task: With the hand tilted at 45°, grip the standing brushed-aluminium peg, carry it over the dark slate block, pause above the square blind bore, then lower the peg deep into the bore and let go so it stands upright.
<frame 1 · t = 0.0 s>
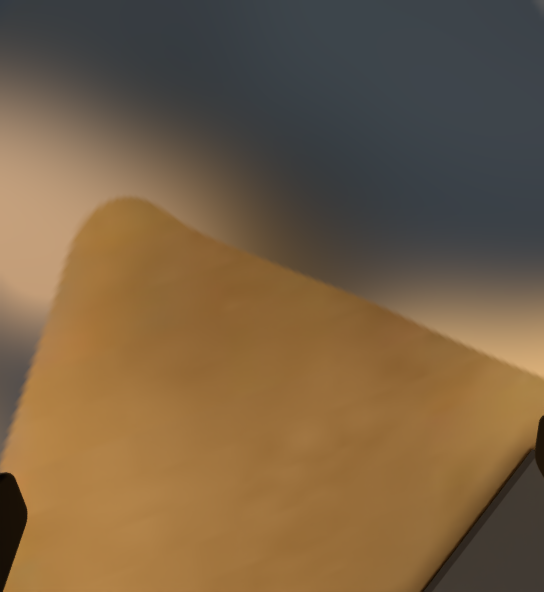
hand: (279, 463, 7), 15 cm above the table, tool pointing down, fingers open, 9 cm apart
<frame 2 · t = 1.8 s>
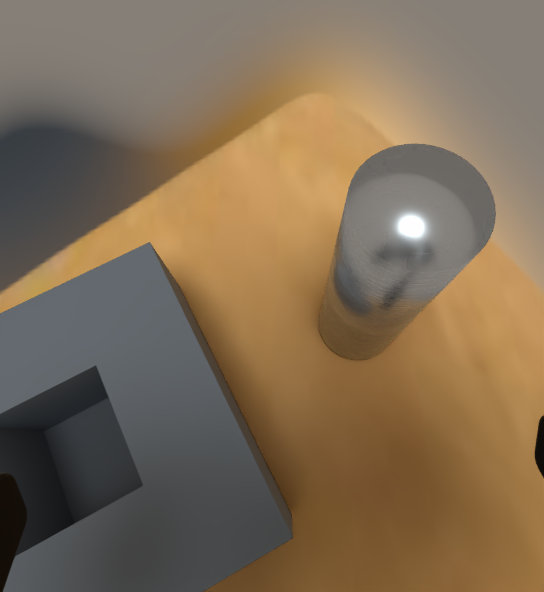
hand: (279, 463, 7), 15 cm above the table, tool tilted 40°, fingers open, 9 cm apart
slate socket block: (112, 453, 21), on the table
aluminium peg: (356, 322, 23), on the table
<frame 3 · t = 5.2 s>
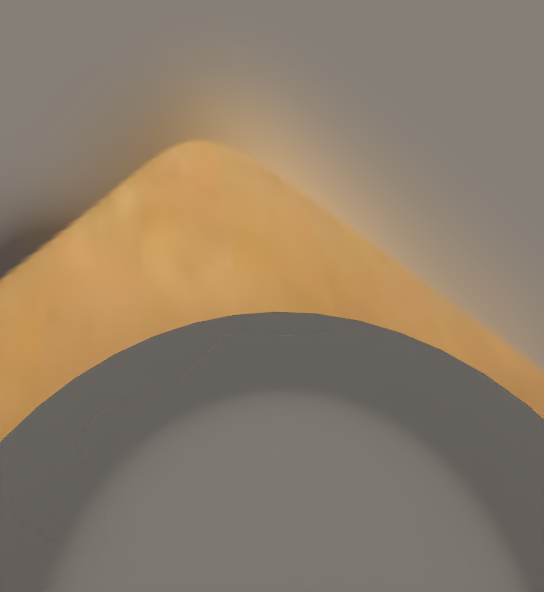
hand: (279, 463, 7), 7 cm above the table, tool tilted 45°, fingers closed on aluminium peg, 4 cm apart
aluminium peg: (290, 526, 13), on the table, touching gripper
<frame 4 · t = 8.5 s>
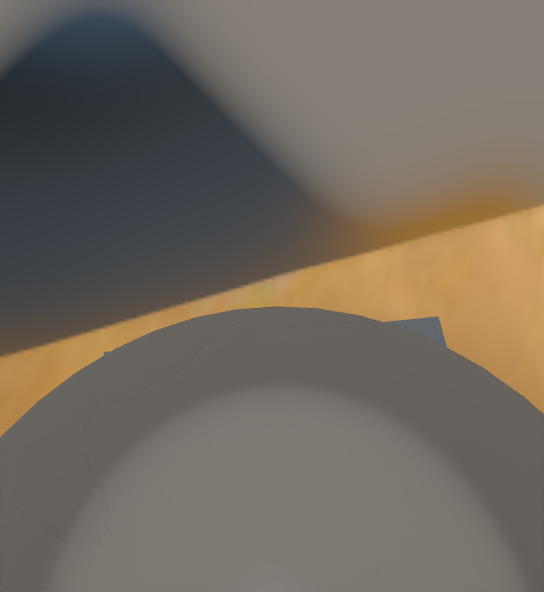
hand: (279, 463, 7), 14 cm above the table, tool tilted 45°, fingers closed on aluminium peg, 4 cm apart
slate socket block: (290, 514, 19), on the table
aluminium peg: (289, 525, 13), point 7 cm above the table, touching gripper
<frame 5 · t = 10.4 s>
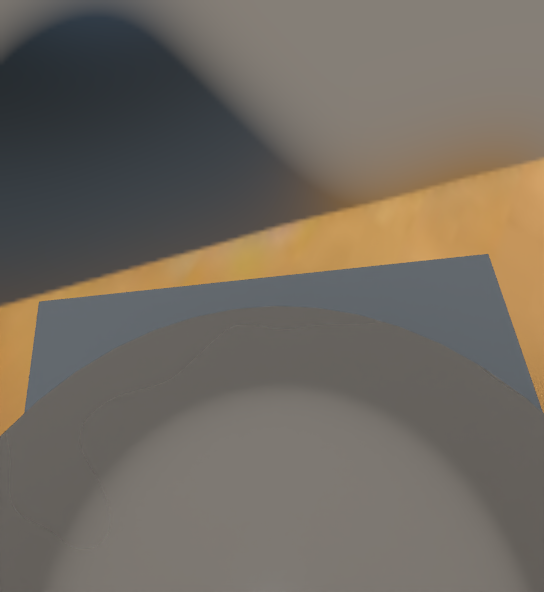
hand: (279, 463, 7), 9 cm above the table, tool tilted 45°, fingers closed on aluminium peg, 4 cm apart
slate socket block: (290, 517, 15), on the table
aluminium peg: (289, 525, 13), point 2 cm above the table, touching gripper
when the fingers open (8 cm above the table, at t = 11.8 s): aluminium peg drops 1 cm, resting on slate socket block.
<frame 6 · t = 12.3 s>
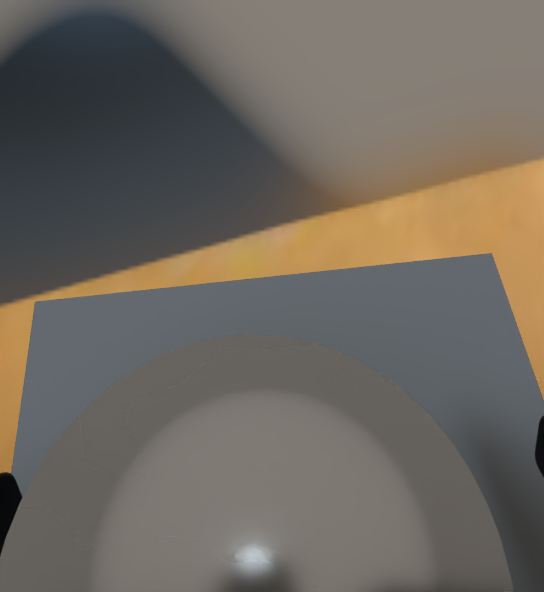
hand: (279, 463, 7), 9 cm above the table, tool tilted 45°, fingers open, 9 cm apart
slate socket block: (290, 521, 15), on the table
aluminium peg: (290, 524, 14), point 1 cm above the table, touching slate socket block
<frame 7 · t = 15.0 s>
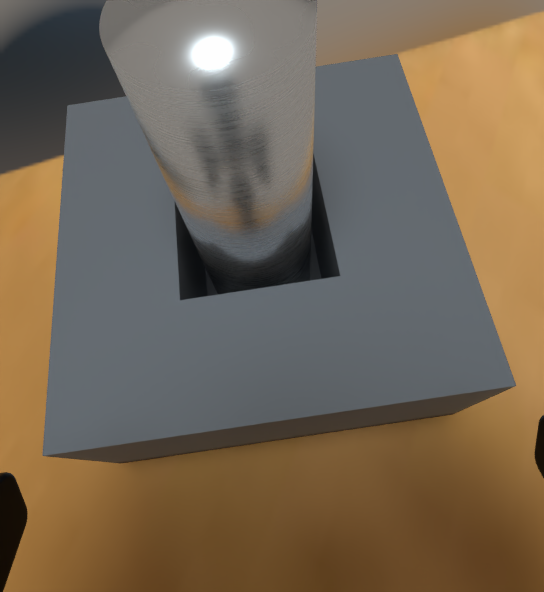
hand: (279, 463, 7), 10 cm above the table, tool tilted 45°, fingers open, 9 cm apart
slate socket block: (264, 287, 19), on the table
aluminium peg: (263, 283, 19), point 1 cm above the table, touching slate socket block
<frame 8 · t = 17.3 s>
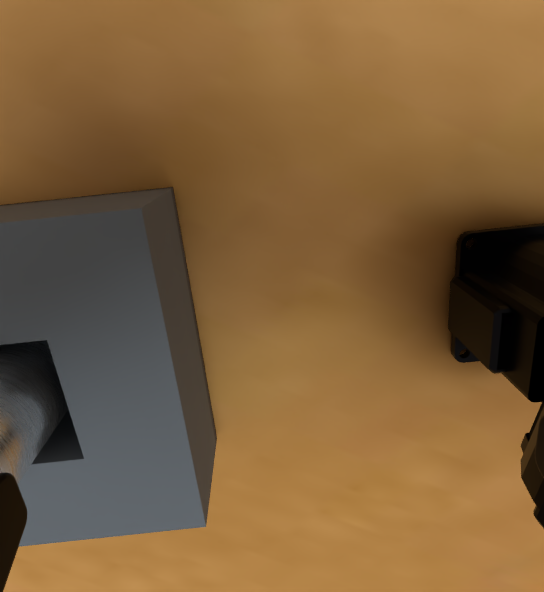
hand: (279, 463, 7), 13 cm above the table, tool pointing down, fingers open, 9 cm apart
slate socket block: (60, 341, 21), on the table
aluminium peg: (57, 345, 20), point 1 cm above the table, touching slate socket block
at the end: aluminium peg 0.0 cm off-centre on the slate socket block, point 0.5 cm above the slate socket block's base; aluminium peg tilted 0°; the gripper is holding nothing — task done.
